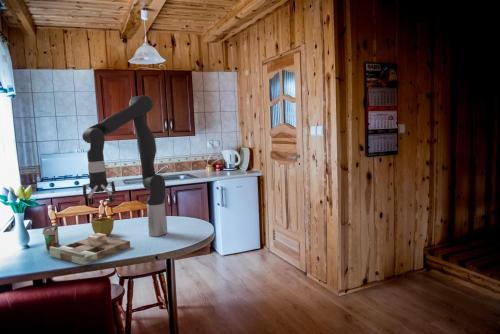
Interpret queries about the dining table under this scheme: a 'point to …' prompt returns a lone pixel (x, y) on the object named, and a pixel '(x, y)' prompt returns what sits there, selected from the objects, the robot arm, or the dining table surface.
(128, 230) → the dining table surface
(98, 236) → the block
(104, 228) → the flower pot
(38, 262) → the dining table surface
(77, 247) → the wooden puzzle tray
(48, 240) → the food container
